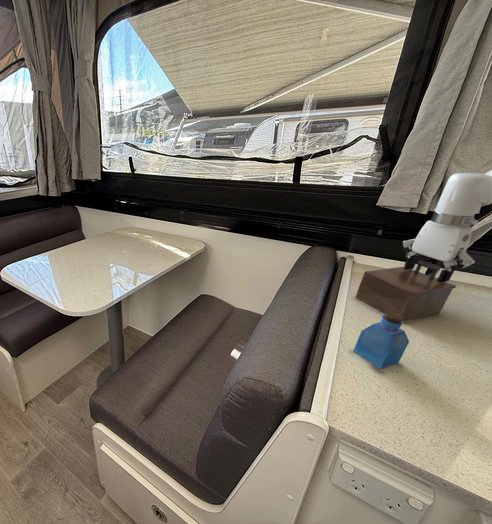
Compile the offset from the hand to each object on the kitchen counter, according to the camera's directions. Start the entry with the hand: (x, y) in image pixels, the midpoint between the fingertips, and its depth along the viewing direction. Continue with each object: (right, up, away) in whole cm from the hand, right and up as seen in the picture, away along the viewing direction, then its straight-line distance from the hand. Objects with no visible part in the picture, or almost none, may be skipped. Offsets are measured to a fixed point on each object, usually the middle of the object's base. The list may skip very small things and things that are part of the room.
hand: (424, 274), depth 82 cm
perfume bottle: (-30, -19, -17) cm, 39 cm away
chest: (-6, -10, +3) cm, 12 cm away
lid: (-6, -2, -1) cm, 6 cm away
